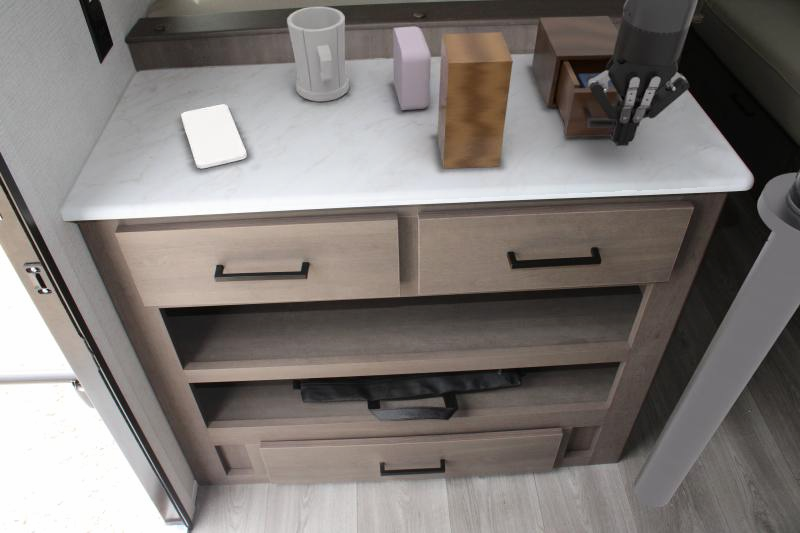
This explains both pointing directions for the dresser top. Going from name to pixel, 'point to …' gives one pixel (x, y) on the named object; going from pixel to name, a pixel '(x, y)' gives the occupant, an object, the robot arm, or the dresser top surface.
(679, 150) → the dresser top surface
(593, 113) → the drawer
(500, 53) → the stand
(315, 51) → the cup
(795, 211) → the robot arm
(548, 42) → the cabinet
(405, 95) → the electronic device
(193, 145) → the smartphone
